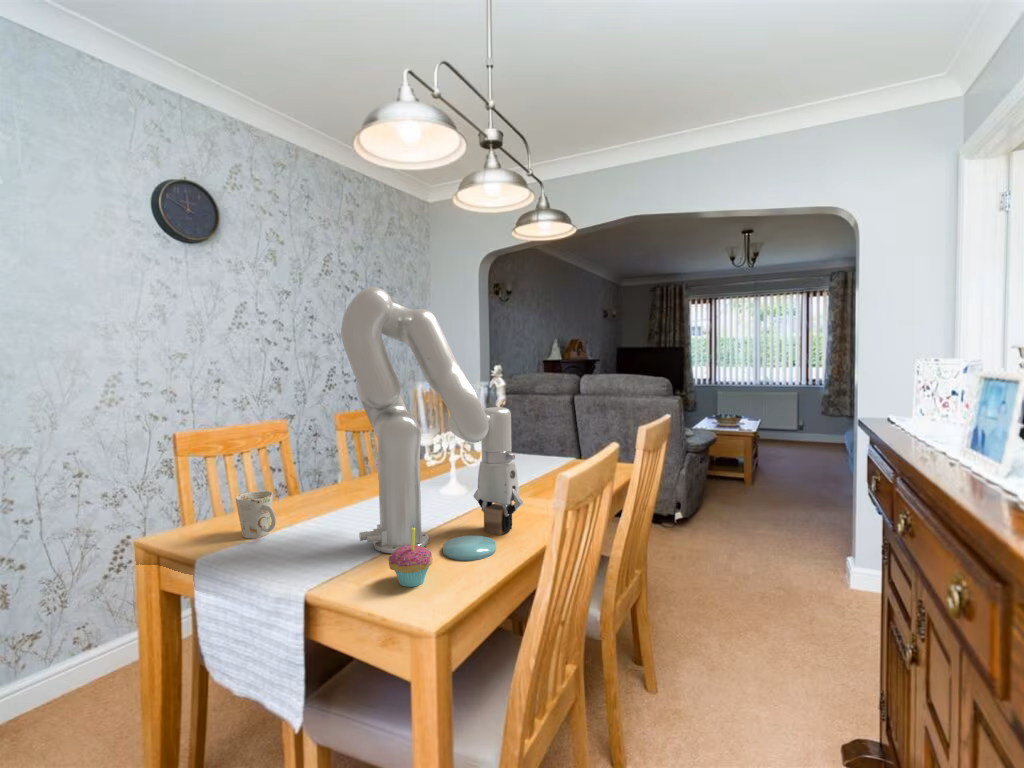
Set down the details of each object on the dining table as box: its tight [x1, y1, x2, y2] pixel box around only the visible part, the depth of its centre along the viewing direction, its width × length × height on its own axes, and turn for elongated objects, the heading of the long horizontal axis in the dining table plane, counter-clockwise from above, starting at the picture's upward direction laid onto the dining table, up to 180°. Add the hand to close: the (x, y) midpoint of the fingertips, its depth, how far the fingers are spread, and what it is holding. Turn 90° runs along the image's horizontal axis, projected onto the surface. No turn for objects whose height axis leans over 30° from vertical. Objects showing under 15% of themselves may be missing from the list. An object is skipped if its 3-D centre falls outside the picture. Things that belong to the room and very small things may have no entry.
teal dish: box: [442, 535, 497, 562], centre depth 116 cm, size 12×12×1 cm
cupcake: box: [388, 525, 434, 588], centre depth 100 cm, size 9×8×12 cm
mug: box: [235, 490, 277, 539], centre depth 128 cm, size 8×13×10 cm, turn 60°
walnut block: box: [483, 503, 513, 536], centre depth 129 cm, size 5×5×6 cm
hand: (498, 527), depth 129 cm, fingers closed on walnut block, 5 cm apart
